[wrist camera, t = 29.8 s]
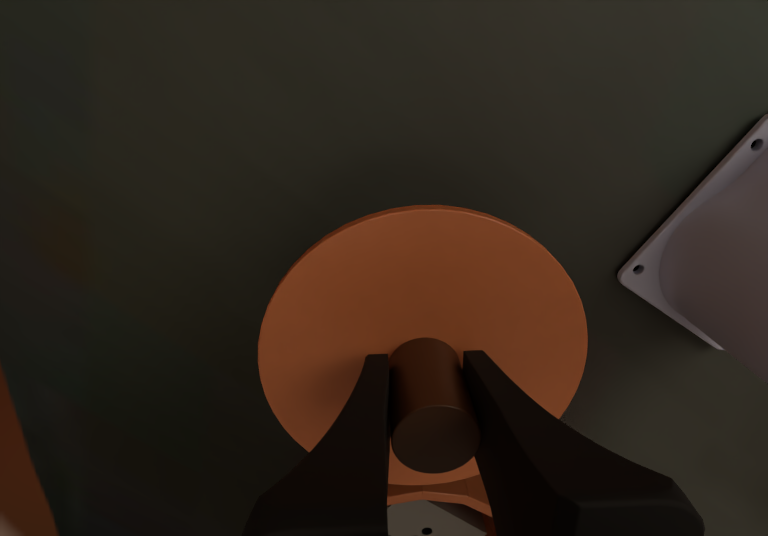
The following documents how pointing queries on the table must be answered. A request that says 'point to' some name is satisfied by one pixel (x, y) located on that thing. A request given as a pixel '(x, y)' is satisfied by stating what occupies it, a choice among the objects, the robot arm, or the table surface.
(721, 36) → the table surface
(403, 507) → the dice cube
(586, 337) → the lid
